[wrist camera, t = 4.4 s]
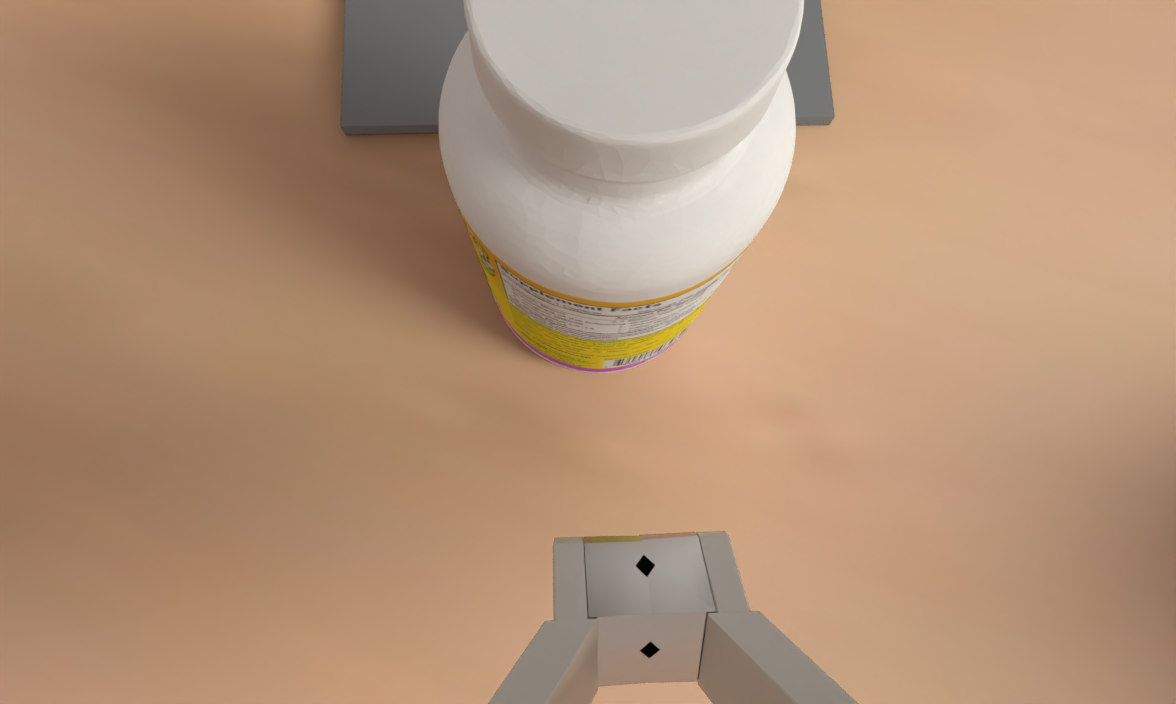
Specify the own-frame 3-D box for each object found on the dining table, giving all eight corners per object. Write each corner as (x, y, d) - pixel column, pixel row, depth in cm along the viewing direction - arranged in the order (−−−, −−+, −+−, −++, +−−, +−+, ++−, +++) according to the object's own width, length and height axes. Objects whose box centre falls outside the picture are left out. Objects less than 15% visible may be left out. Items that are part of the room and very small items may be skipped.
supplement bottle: (535, 150, 23) (496, -280, 10) (727, 216, 22) (933, -140, 10) (459, 337, 21) (305, 111, 9) (662, 410, 21) (805, 284, 8)
